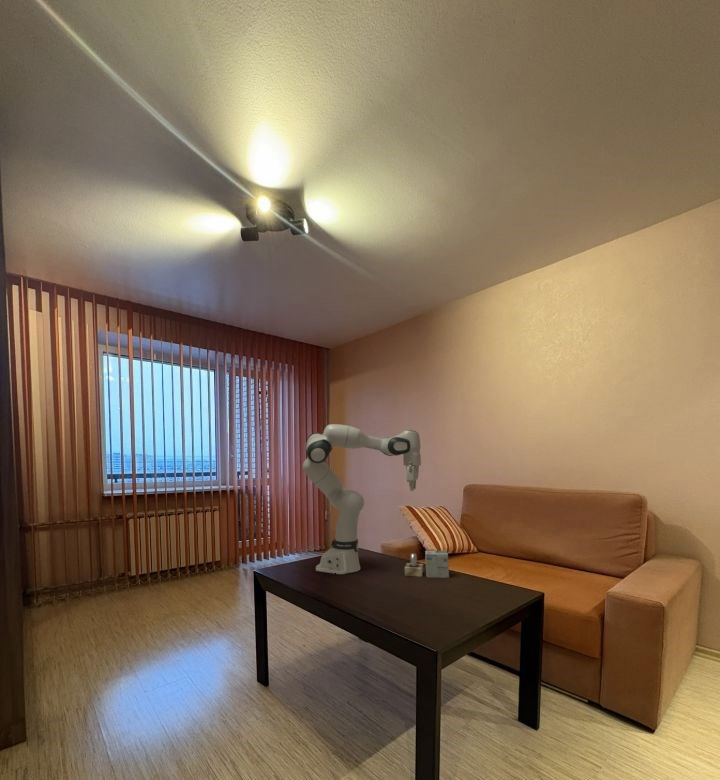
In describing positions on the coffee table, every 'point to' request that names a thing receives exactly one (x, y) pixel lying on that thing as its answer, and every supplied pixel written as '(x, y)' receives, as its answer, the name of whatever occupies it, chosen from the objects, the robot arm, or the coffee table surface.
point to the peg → (413, 560)
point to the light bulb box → (437, 564)
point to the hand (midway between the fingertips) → (412, 489)
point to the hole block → (413, 570)
